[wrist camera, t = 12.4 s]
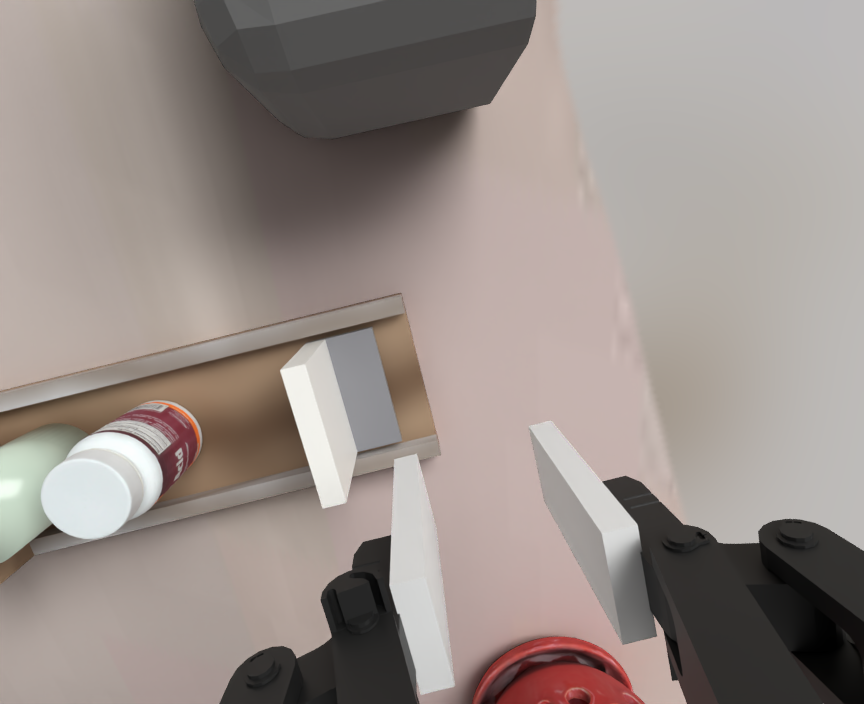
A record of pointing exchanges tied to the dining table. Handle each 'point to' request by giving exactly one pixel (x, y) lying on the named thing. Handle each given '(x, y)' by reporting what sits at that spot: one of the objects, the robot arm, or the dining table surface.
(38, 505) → the pale green rounded block
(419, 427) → the tray
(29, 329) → the dining table surface
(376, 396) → the paddle
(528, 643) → the plant pot
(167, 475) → the pill bottle
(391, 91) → the alarm clock
